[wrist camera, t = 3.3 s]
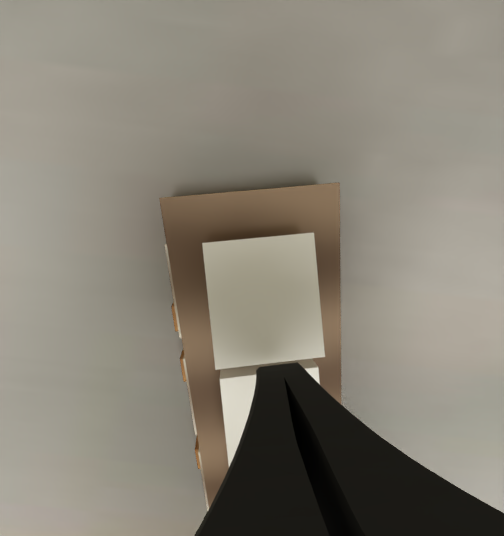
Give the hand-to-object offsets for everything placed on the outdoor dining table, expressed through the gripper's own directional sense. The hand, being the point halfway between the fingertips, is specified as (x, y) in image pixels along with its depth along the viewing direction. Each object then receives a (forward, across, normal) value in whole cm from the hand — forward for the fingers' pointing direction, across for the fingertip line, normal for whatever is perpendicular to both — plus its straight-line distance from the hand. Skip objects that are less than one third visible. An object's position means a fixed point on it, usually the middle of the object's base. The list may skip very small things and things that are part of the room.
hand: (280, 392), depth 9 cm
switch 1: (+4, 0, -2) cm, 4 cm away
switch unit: (+8, 0, +4) cm, 9 cm away
